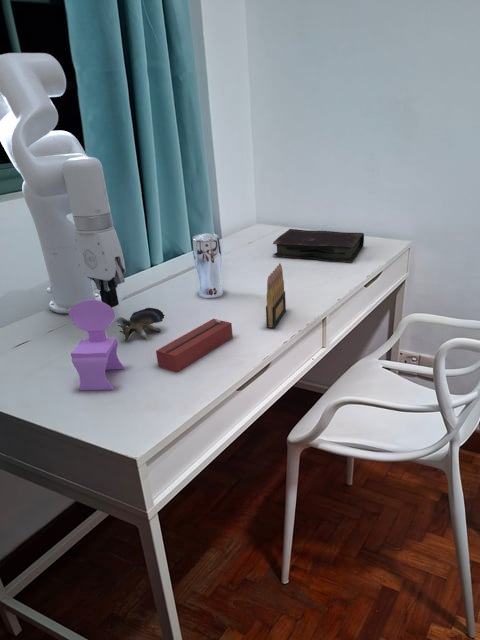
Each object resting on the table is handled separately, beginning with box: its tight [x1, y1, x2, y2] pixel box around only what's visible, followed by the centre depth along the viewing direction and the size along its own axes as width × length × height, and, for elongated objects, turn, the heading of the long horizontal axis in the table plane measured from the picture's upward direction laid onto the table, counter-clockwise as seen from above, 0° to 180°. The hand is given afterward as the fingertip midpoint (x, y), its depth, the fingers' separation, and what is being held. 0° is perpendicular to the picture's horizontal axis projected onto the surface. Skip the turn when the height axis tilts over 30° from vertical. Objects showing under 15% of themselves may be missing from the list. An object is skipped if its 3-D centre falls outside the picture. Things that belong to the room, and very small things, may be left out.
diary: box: [272, 228, 365, 263], centre depth 170 cm, size 19×25×5 cm
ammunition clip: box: [265, 262, 287, 330], centre depth 123 cm, size 11×2×12 cm, turn 166°
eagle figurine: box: [115, 307, 166, 342], centre depth 118 cm, size 8×7×9 cm
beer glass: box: [191, 232, 224, 299], centre depth 137 cm, size 7×7×15 cm
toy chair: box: [68, 299, 126, 391], centre depth 99 cm, size 8×9×15 cm
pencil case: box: [155, 318, 234, 373], centre depth 111 cm, size 5×18×4 cm, turn 149°
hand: (111, 306), depth 120 cm, fingers closed
